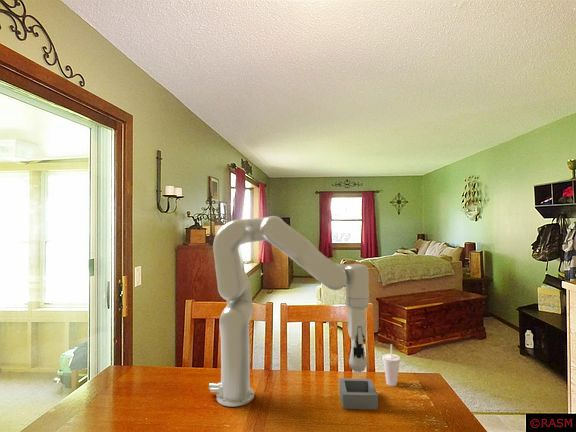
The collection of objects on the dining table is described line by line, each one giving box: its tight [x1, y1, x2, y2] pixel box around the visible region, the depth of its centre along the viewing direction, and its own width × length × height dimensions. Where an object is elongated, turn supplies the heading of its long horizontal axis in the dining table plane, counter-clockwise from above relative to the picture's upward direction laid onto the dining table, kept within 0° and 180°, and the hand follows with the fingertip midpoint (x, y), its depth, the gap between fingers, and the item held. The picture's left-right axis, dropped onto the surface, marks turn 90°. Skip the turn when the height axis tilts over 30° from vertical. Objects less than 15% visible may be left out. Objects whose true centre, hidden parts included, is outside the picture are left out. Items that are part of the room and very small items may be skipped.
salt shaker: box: [348, 336, 368, 373], centre depth 115 cm, size 6×6×13 cm
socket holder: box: [338, 377, 379, 410], centre depth 115 cm, size 11×11×4 cm
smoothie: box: [381, 343, 401, 387], centre depth 126 cm, size 6×6×14 cm
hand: (357, 356), depth 115 cm, fingers closed on salt shaker, 3 cm apart
